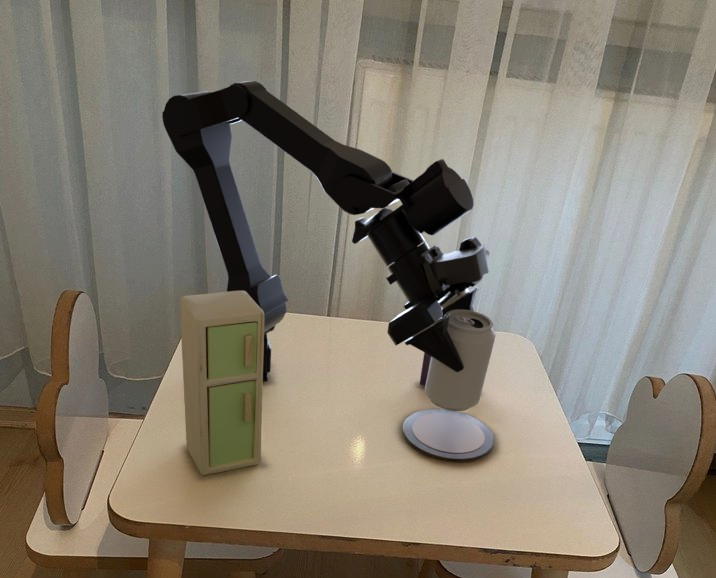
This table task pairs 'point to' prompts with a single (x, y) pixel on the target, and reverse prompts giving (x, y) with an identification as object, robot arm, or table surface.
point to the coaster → (447, 435)
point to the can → (474, 350)
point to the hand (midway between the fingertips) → (470, 359)
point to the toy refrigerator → (222, 379)
